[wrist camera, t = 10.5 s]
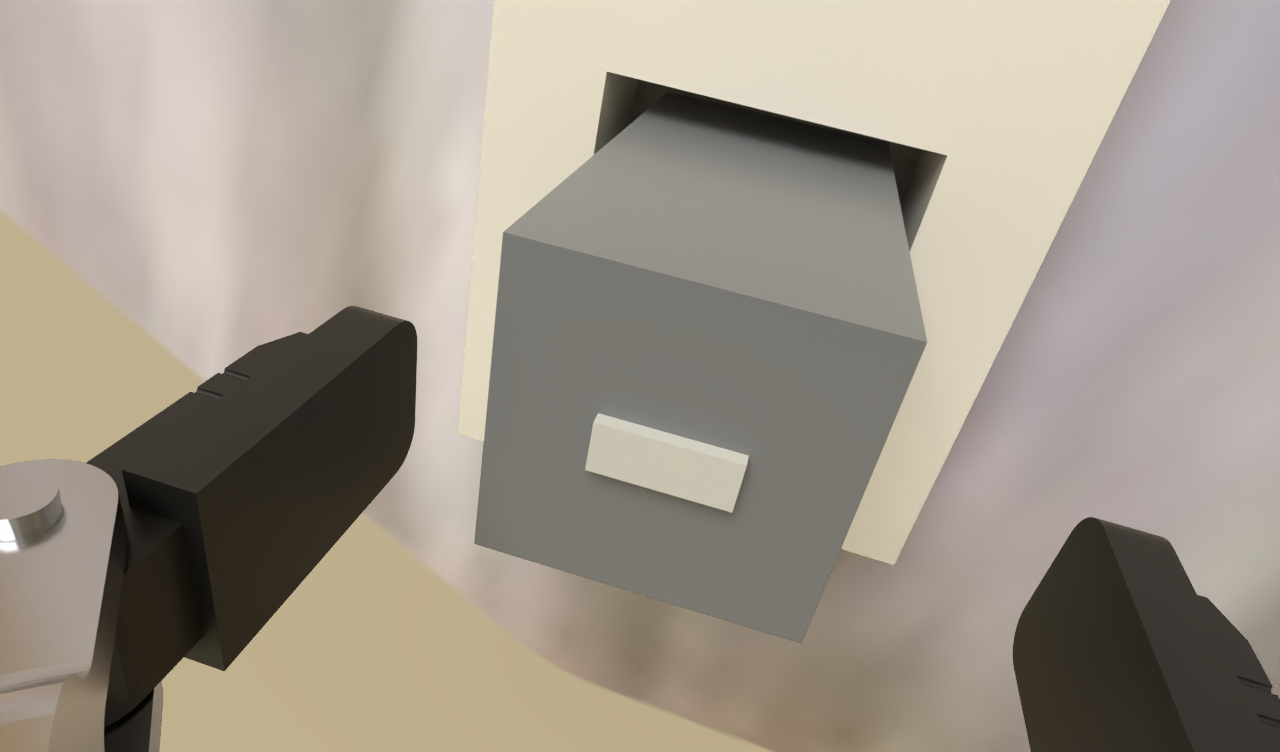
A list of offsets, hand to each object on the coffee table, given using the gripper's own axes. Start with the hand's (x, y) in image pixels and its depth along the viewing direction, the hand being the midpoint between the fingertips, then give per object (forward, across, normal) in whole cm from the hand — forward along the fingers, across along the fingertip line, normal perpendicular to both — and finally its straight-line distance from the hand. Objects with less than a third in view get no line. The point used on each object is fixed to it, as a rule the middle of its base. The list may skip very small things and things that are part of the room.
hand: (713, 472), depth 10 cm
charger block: (+9, +1, 0) cm, 9 cm away
